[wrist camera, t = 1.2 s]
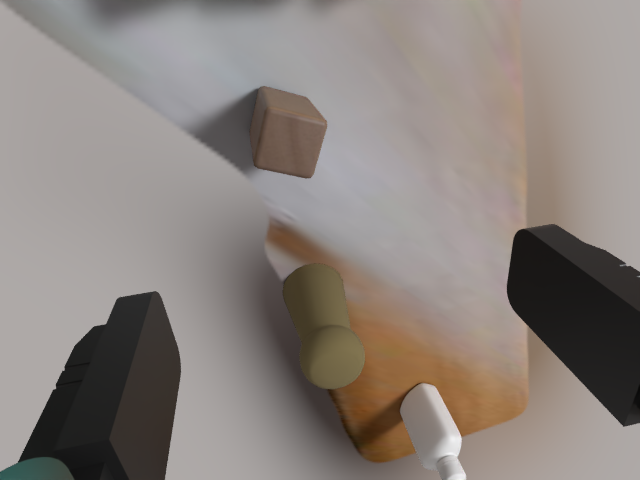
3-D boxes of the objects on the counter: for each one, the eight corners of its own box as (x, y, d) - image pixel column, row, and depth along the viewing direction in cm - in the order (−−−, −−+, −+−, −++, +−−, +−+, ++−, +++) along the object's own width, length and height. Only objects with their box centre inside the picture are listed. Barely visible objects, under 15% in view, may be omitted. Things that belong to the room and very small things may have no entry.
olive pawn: (345, 262, 41) (379, 339, 31) (340, 312, 44) (370, 397, 34) (283, 264, 40) (298, 346, 30) (282, 316, 43) (296, 405, 33)
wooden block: (248, 135, 34) (252, 169, 27) (258, 83, 32) (266, 105, 25) (297, 146, 35) (313, 181, 28) (309, 97, 33) (330, 121, 26)
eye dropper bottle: (443, 394, 53) (494, 489, 43) (405, 417, 54) (446, 515, 44) (427, 376, 51) (477, 471, 41) (388, 401, 52) (427, 500, 41)
